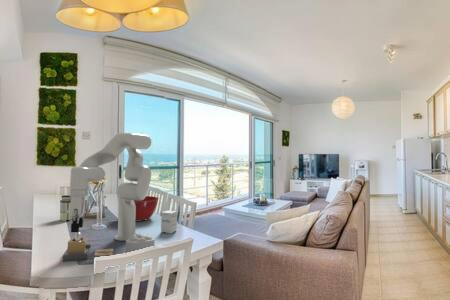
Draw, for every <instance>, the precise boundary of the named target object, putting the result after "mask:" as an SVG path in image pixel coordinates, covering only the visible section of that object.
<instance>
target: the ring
mask: <svg viewBox="0 0 450 300" xmlns="http://www.w3.org/2000/svg"><path fill="white" fill-rule="evenodd" d="M87 243H88V237H87V236H86V237H85V236H84V237H82V236H81V241H75V237H71V238H70V239H69V240H68V241H67V249H68V253H80V252H85V250H86V248H87Z"/></svg>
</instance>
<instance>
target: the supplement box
mask: <svg viewBox="0 0 450 300" xmlns="http://www.w3.org/2000/svg"><path fill="white" fill-rule="evenodd" d="M177 228H178V211H177V210H176V211H175V210H169V209H168V210H164V211H162V212H161V222H160V233H163V232H166V233H165V234H170V233H171V234H173V233H172V232H174V231H176V230H177ZM176 232H177V231H176ZM174 233H175V232H174Z"/></svg>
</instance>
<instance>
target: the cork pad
mask: <svg viewBox="0 0 450 300" xmlns="http://www.w3.org/2000/svg"><path fill="white" fill-rule="evenodd" d="M106 255H108V256H113V255H114V248H105V249H96V250H95V253H94V255H93V256H94V258H96V257H105V256H106Z"/></svg>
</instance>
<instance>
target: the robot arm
mask: <svg viewBox="0 0 450 300" xmlns="http://www.w3.org/2000/svg"><path fill="white" fill-rule="evenodd" d="M151 146H152V139H151V137H150V136H149V135H147V134H141V133H133V132H119V133H116V134H115V135H114V136H113V137H112V138H111V139H110V140H108V142H107V143H106V145H105V146H103V148H102V149H100V150H99V151H96V152H95V153H93V154H91V155H90V156H88V157H87V158H85V159H84V160H83V162H81V164H80V165H79V166H73V167H71V169H70V179H69V180H70V181H69V197H70V199H71V203H70V213H69V218H70V219H71V218H72V221H71V223H70V233H77V232H79V231H80V228H83V226H84V223H83V222H84V214H85V207H86V205H85V203H86V202H85V201H86V199H85V198H86V197H88V191H89V190H88V187H89V186H88V185H89V182H95V183H97V182H101V181H103V179H104V178H105V177H106V171H105V169H103V168H102V167H100V166H102V165H105V164H108V163H111V162H113V161H114V162H115V160H116V159H118V157H119V156H120V154H122V152H123V151H124V150H125V149H126V150H127V153H128V158H127V163H126V167H125V170H124V179H125V180H126V181H127V182H123V183H120V184H119V185H118V186H117V188H116V196H117V203H118V205H117V209H118V210H117V211H118V213H117V234H116V235H115V236H114V240H116V241H120V242H126V240H128V239H130V238H131V237H132V236H135V235H137V233H136V221H135V219H136V206H135V203H134V200H137V201H141V200H143V199H145V197H146V196H148V191H149V188H150V184H151V179H152V170H151V169H150V167H149V166H147V165H143V163H144V162H143V161H144V155H143V152H142V151H141V150H147V149H149V148H150V147H151ZM128 181H129V182H128ZM134 182H136V183H134Z"/></svg>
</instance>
